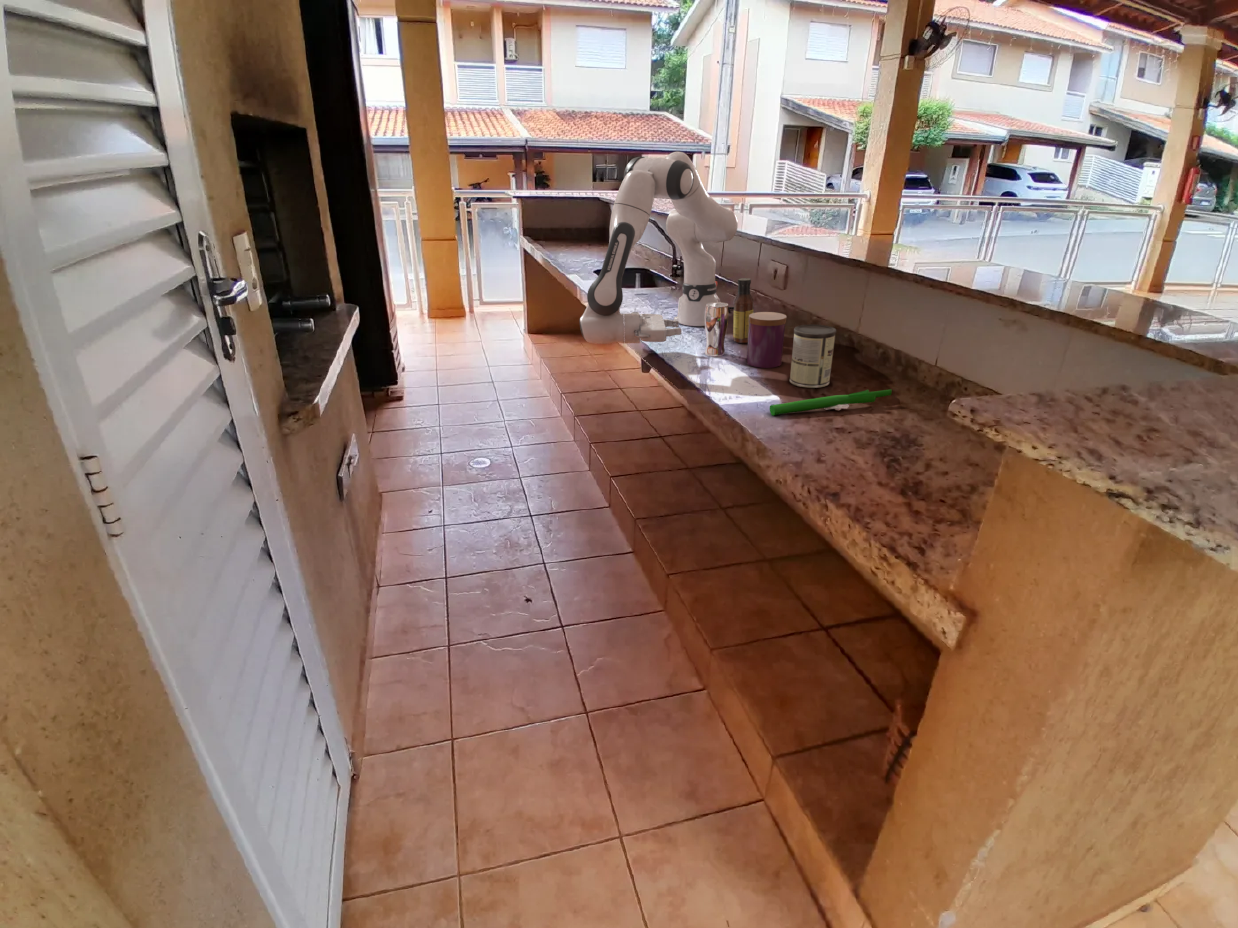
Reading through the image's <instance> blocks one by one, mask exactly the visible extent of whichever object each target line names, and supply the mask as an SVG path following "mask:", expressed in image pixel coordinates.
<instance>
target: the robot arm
mask: <svg viewBox="0 0 1238 928" xmlns="http://www.w3.org/2000/svg"><path fill="white" fill-rule="evenodd" d="M655 199H664V200H667V199H669V200H670V201H671V203H672V205H673V207H674V209H673V210H671V211H670V213H669V214H668V215H667V218H666V220H665V221H666V222H665V230H666V232H667V234H668V236H669V237H670V238H671V240H672V241H674V242H675V244H676V245H677V247H678V249H679V251H680V253H681V256H682V260H683V283H682V287H681V289H682V295H681V296H680V297H679V298H678V304H677V316H675V317H673V320H672V319H666V318H664V316H663V315H662V314H657V313H640V312H639V311H632V312H631V313H621V311H620V310H621V306H622V304H623V299H624V292H623V285H622V283H623V277H624V274H625V270H626V267H627V264H628V260H629V257H630V253H631V251H632V250H633V248H634V247H635V245H636V244H637V243H638V242H639V241H640V240H641V239H642V237H643V235H644V233H645V231H646V229H647V226H648V223H649V221H650V218H651V214H652V210H653V205H654V201H655ZM738 228H739V221H738V217H737V215H736V213H735V211H733V210H731V209H729V208H727V207H724V206H722V205H721V204H720V203H719V202H717V201H716V200H715V199H714V198H712V197H711V196H710V194H709V193H708V192H707V190H706V188H705V185H704V183H703V181H702V178H701V176H700V174H699V172H698V170H697V167H696V166H695V164H694V163H693V160H692V159H691V158H690V157H689V155H687V154H686V153H685V152H683V151H673V152H671V153H669V154H668V155H666V156H665V157H661V156H660V157H653V156H652V157H645V156H637V157H633V158H631V160H630V161H628V163H627V164H626V166H625V169H624V172H623V180H622V181H621V184H620V186H619V189H618V191H617V193H616V196H615V199H614V203H613V206H612V210H611V213H610V220H609V241H608V242H609V243H608V246H607V250H606V253H605V255H604V256H605V257H604V259H603V264H602V267H601V270H600V272H599V275H598V276H597V277H596V278H595V280H594V281H593V282H592V283H591V285H590V286H589V287H588V290H587V295H586V299H587V305H586V307H585V309H584V312H583V313H582V315H581V316H580V317H579V329H580V333H581V336H582V338H583V340H584V341H585V342H587V343H589V344H593V345H594V344H596V345H611V344H615V343H620V344H623V345H624V344H640V343H641V341H642V342H647V343H664V342H666V341H667V337H674V336H679V335H682V327H679V325H683V326H689V327H690V326H691V327H705V310H706V304H707V303H712V302H722V301H721V299H720V297H719V296H718V295H717V290H718V289H717V288H718V281H716V270H717V269H716V268H717V266H716V265H717V262H716V259H715V257H714V256H713V255H712V254H710V253H709V252H707V251H706V250H705V248H704V245H703V243H716V244H717V243H722V242H723V243H724V242H729V241H731V240H733V238H734V237H735V235H736V234H737V231H738ZM731 310H734V306H728V313H731ZM669 327H670V328H669Z"/></svg>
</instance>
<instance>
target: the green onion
mask: <svg viewBox="0 0 1238 928" xmlns="http://www.w3.org/2000/svg"><path fill="white" fill-rule="evenodd" d="M887 396H892V388H891V389H883V390H875V391H870V390H869V388H868V389H865V390H861V391H857V392H852V393H849V394H838V395H830V396H822V397H816V398H809V399H803V400H802V399H801V400H796V401H790V402H785V403H783V402H782V403H776V404H771V405H769V413H770V415H771V416H778V415H779V416H780V415H784V414H792V413H801V412H807V411H814V410H820V409H821V410H822V409H824V410H825V411H830V410H835V411H836V412H837V411H841V410H842V409H849V408H850V405H852V404H855V405H856V404H867V403H874V402H875V401H876V398H883V397H887Z"/></svg>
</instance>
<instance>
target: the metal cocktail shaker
mask: <svg viewBox="0 0 1238 928" xmlns="http://www.w3.org/2000/svg"><path fill="white" fill-rule="evenodd" d="M728 307H729V303H727V302H722V301H721V302H712V303H707V304H706V310H705V326H704V330H705V338H706V346H705V350H704V354H705V356H707V357H715V358H717V357H723V356H725V354H726V352H725V351H726V350H725V340H726V335H727V330H728V325H729V312H728Z"/></svg>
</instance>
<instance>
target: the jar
mask: <svg viewBox="0 0 1238 928" xmlns="http://www.w3.org/2000/svg"><path fill="white" fill-rule="evenodd" d="M748 321H749V331H748V343H747V347H746V361H745V362H746V364H747V365H748V366H751V367H755V368H760V369H772V368H776V367H777V368H778V367H780V366H781V365H782V362H783V353H784V352H783V350H784V341H785V331H786V323H787V315H786V314H785V313H781V312H774V311H758V312H753V313H752V314H750V315H749V320H748Z"/></svg>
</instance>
